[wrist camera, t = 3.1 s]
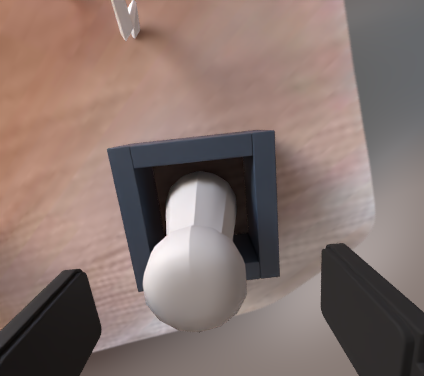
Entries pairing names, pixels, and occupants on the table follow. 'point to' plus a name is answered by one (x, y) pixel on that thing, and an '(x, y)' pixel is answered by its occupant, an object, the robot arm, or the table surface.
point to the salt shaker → (197, 257)
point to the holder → (196, 152)
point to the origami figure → (126, 18)
